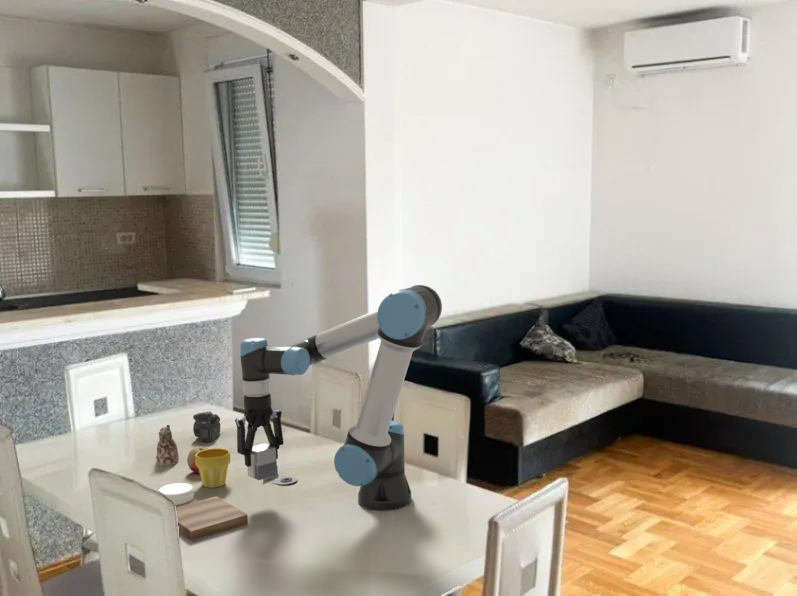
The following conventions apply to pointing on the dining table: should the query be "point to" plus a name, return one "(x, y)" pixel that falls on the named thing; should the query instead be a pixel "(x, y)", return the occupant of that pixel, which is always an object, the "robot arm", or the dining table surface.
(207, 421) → the camera
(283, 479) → the bracket
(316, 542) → the dining table surface
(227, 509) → the cutting board
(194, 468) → the fruit
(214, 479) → the plant pot
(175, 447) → the figurine
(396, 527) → the dining table surface
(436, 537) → the dining table surface
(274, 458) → the block
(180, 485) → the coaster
